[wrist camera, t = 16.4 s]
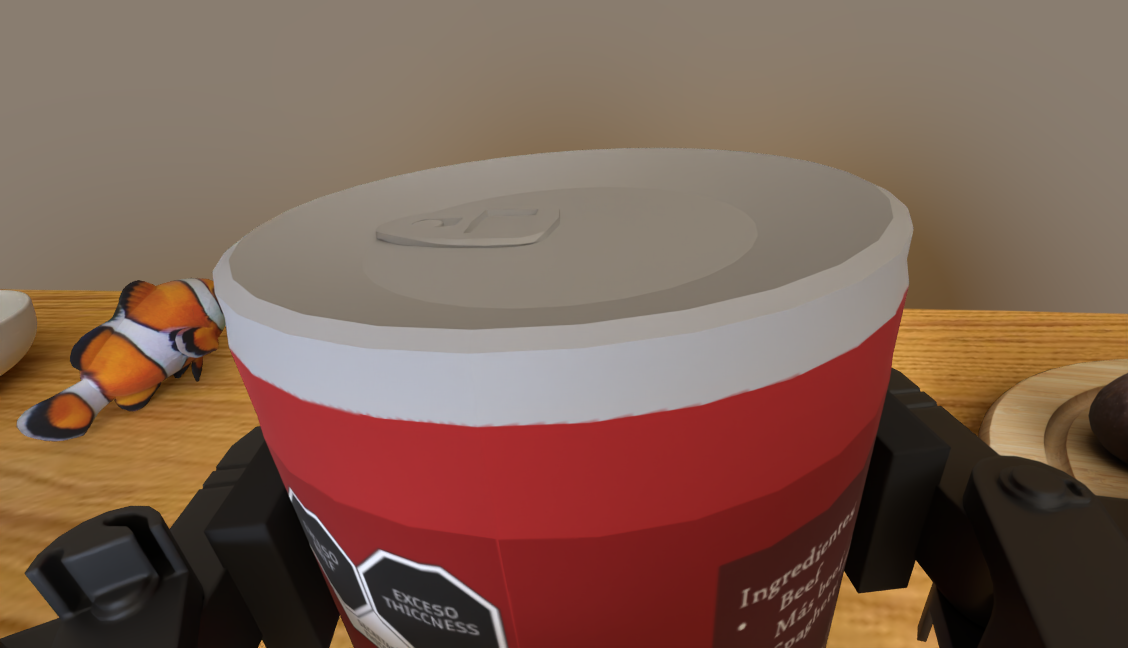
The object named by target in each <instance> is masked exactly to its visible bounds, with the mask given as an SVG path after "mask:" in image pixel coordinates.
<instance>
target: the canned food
mask: <svg viewBox="0 0 1128 648" xmlns="http://www.w3.org/2000/svg"><path fill="white" fill-rule="evenodd" d="M913 229H914V228H913V225H912V221H911V218H910V215H909V211H908V208H907V207H906V206H905V205H904V204H903V203H902V202H900V201H899V200H898V199H897V198H896V197H895V196H894V195H892V194H891V193H890V192H889V191H887V190H885V189H883V188H881V187H879V186H877V185H875V184H872V183H870V182H868V181H866V180H864V179H862V178H859V177H857V176H855V175H853V174H851V173H848V172H846V171H842V170H839V169H835V168H832V167H829V166H825V165H821V164H818V163H814V162H809V161H804V160H798V159H793V158H787V157H782V156H775V155H766V154H758V153H749V152H741V151H726V150H711V149H687V148H686V149H685V148H683V149H682V148H620V149H598V150H580V151H566V152H552V153H541V154H531V155H522V156H513V157H504V158H497V159H490V160H483V161H475V162H468V163H462V164H456V165H451V166H445V167H439V168H433V169H427V170H423V171H418V172H413V173H409V174H404V175H400V176H395V177H390V178H386V179H382V180H378V181H375V182H371V183H367V184H363V185H359V186H355V187H352V188H349V189H346V190H343V191H339V192H336V193H333V194H330V195H327V196H324V197H320V198H318V199H315V200H313V201H310V202H308V203H305V204H303V205H300V206H298V207H295V208H293V209H290V210H288V211H286V212H284V213H282V214H280V215H278V216H276V217H274V218H273V219H271V220H269V221H267V222H265V223H263V224H261V225H259V226H258V227H257V228H255V229H254V230H252V231H251V232H249V233H248V234H247V235H245V236H244V237H243V238H242V239H240V240H239V241H238V242H236V243H235V244H234V245H233V246H231V247H230V248H229V249H228V250H227V251H225V252H224V254H223V256H222V257H221V259H220V260H219V262H218V264H217V265H216V267H215V269H214V270H213V281H214V289H215V295H216V297H217V299H218V302H219V304H220V307H221V309H222V312H223V314H224V317H225V323H226V330H227V337H228V344H229V349H230V351H231V354H232V356H233V358H234V361H235V363H236V365H237V368H238V370H239V373H240V375H241V377H242V380H243V382H244V385H245V387H246V389H247V392H248V394H249V397H250V399H251V401H252V404H253V406H254V408H255V411H256V413H257V416H258V419H259V423H260V426H261V429H262V433H263V436H264V439H265V441H266V443H267V446H268V448H269V450H270V453H271V455H272V457H273V460H274V462H275V464H276V467H277V469H278V471H279V474H280V476H281V478H282V481H283V483H284V485H285V488H286V490H287V492H288V495H289V497H290V499H291V502H292V504H293V506H294V509H295V511H296V513H297V516H298V518H299V520H300V523H301V525H302V527H303V530H304V532H305V534H306V537H307V539H308V541H309V544H310V546H311V548H312V551H313V553H314V555H315V558H316V560H317V562H318V565H319V567H320V569H321V572H322V574H323V576H324V579H325V581H326V583H327V586H328V588H329V590H330V593H331V595H332V597H333V600H334V602H335V604H336V607H337V609H338V611H339V614H340V616H341V618H342V621H343V623H344V625H345V628H346V630H347V632H348V635H349V637H350V639H351V642H352V644H353V646H354V648H826V644H827V640H828V636H829V631H830V627H831V623H832V619H833V615H834V610H835V606H836V602H837V598H838V594H839V590H840V585H841V581H842V577H843V573H844V569H845V564H846V560H847V556H848V552H849V548H850V544H851V539H852V535H853V531H854V527H855V523H856V518H857V514H858V510H859V506H860V502H861V498H862V493H863V489H864V485H865V481H866V477H867V472H868V468H869V464H870V460H871V456H872V452H873V447H874V443H875V439H876V435H877V431H878V426H879V422H880V418H881V414H882V410H883V406H884V401H885V397H886V393H887V389H888V385H889V381H890V374H891V366H892V358H893V352H894V348H895V343H896V339H897V335H898V330H899V326H900V322H901V317H902V313H903V309H904V304H905V299H906V296H907V291H908V286H909V278H908V268H907V256H908V251H909V247H910V242H911V238H912V233H913Z"/></svg>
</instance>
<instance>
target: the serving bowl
mask: <svg viewBox="0 0 1128 648" xmlns="http://www.w3.org/2000/svg"><path fill="white" fill-rule="evenodd" d="M36 331H37V318H36V313H35V310H34V307H33V304H32V301H31V298H30V297H29V296H28V295H27V294H25V293H22V292H18V291H10V290H0V376H1V375H2V374H4V373H5V372H7V371H8V370H9V369H11V368H12V367H13V366H14V365H15V364H17V363H18V362H19V361H20V360H21V359H22V358H23V357H24V355H25V354H26V353H27V352H28V350H29V349H30V347H31V345H32V343H33V341H34V339H35V335H36Z"/></svg>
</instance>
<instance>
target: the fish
mask: <svg viewBox="0 0 1128 648" xmlns="http://www.w3.org/2000/svg"><path fill="white" fill-rule="evenodd" d="M225 325H226V323H225V317H224V314H223V312H222V309H221V307H220V304H219V302H218V299H217V297H216V295H215V289H214V281H211V280H209V279H197V278H189V279H180V280H174V281H170V282H167V283H163V284H160V285H158V286H155V285H153V284H150V283H147V282H144V281H140V280H138V281H134V282H132V283H130V284H128V285H127V286H126V287H125V288H124V289H123V291H122V293H121V295H120V298H119V303H118V306H117V308H116V310H115V313H114V315H113V317H112V318H111V319H110V320H109V321H107V322H105V323H104V324H102V325H100V326H98V327H96V328H95V329H93V330H91V331H90V332H88V333H86V334H85V335H84V336H82V337H81V338H80V340H79V341H78V342H77V343H76V344H75V345H74V346H73V349H72V351H71V355H70V362H71V364H72V366H73V367H74V368H76V369H78V370H79V371H80V379H81V381H80V382H78V383H76V384H75V385H73V386H71V387H69V388H67V389H65V390H64V391H62V392H60V393H58V394H57V395H55V396H53V397H51V398H49V399H47V400H44V401H42V402H40V403H38V404H36V405H34V406H32V407H31V408H29V409H28V410H26V411H25V412H24V413H23V414H22V415H21V416H20V417H19V419H18V420H17V428H18V429H19V430H20V431H21V433H23V434H24V435H25V436H28V437H31V438H35V439H39V440H44V441H64V440H68V439H72V438H77V437H80V436H83V435H84V434H85V433H86V432H87V430H88V429H89V427H90V426H91V424H92V422H93V420H94V419H95V417H96V416H97V414H98V413H99V412H100V411H101V410H102V409H103V408H104V407H105V406H106V405H107V404H109V403H110V402H111V401H112V400H113V399H114V398H115V402H116V404H117V405H118V406H119V407H120V408H122V409H125V410H127V411H136V410H139V409H141V408H143V407H144V406H145V405H146V404H147V403H148V402H149V400H150V399H151V397H152V396H153V395H154V393H155V392H156V391H157V389H158V388H159V387H160V385H161V382H162V381H163V380H165V379H166V378H168V377H169V376H171V375H174V377H175V378H177V379H179V378H180V377H181V375H182V374H183V373H184V372H185V371H186V370H187V368H188V367H189V365H190V364H191V362H192V373H193V375H194V378H195V380H196V381H197V382H198V381H199V378H200V376H201V371H202V365H203V356H204V355H206V354H209V353H211V352H213V351H216V350H217V349H218V348H219V342H218V337H219V336H220V334H221V333H222V331H223V329H224V327H225Z"/></svg>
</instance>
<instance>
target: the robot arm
mask: <svg viewBox="0 0 1128 648" xmlns="http://www.w3.org/2000/svg"><path fill="white" fill-rule="evenodd" d="M936 403H937V402H936V401H935V400H933V399H932V398H931V397H930V396H929V395H927V394H926V393H925V392H920V388H919V387H918V386H917V385H915V384H914V383H913V382H912V381H911V380H909V379H908V378H907V377H906V376H905V375H903V374H902V373H901V372H900V371H897V370H895V369H893V368H891V374H890V381H889V385H888V389H887V393H886V397H885V401H884V406H883V410H882V414H881V418H880V422H879V426H878V431H877V435H876V439H875V443H874V447H873V452H872V456H871V460H870V464H869V468H868V472H867V477H866V481H865V485H864V489H863V493H862V498H861V502H860V506H859V510H858V514H857V518H856V523H855V527H854V531H853V535H852V539H851V544H850V548H849V552H848V556H847V560H846V564H845V569H844V571H845V573H846V575H847V576H848V578H849V579H850V581H851V583H852V584H853V586H854V587H855V589H856V591H857V592H858V593H865V592H874V591H882V590H891V589H899V588H907V586H908V583H909V579H910V576H911V573H912V570H913V567H914V564H915V560H916V561H917V562H918V563H919V565H920V566H921V567H922V569H923V570H924V571H925V572H926V574H927V575H928V576H929V577H930V579H931V580H932V581H933V584H932V587H931V590H930V592H929V595H928V598H927V601H926V604H925V607H924V610H923V613H922V615H921V618H920V621H919V624H918V634H917V640H920V641H924V642H926V641H927V638H928V635H929V632H930V630H931V627H932V624H933V625H934V629H935V633H936V637H937V640H938V645H939V648H1128V499H1124V498H1116V497H1107V496H1099V495H1095V494H1094V493H1093V492H1092V491H1091V490H1090V489H1089V488H1088V487H1087V486H1086V485H1085V484H1083V483H1082V482H1080V481H1078V480H1077V479H1075V478H1074V477H1072V476H1070V475H1069V474H1067V473H1066V472H1064V471H1062V470H1059V469H1057V468H1054V467H1052V466H1050V465H1047V464H1045V463H1042V462H1040V461H1036V460H1031V459H1027V458H1023V457H1018V456H1002V455H999V454H998V453H997V452H996V451H994V450H993V449H992V448H991V447H990V446H988V445H987V444H986V443H985V442H984V441H982V440H981V439H980V438H979V437H978V436H976V435H975V434H974V433H973V432H972V431H970V430H969V429H968V428H967V427H966V426H964V425H963V424H962V423H961V422H960V421H958V420H957V419H956V418H955V417H954V416H953V415H951V414H950V413H949V412H948V411H947V410H945V409H944V408H943V407H942V406H937V404H936ZM25 575H26V576H27V577H28V579H29V580H30V581H31V582H32V584H33V585H34V586H35V587H36V589H37V590H38V591H39V592H40V594H41V595H42V596H43V597H44V599H45V600H46V601H47V602H48V604H49V605H50V606H51V607H52V609H53V610H54V611H55V612H56V614H57V615H58V616H59V618H57V619H55V620H52V621H49V622H46V623H43V624H40V625H38V626H35V627H32V628H29V629H26V630H24V631H21V632H18V633H15V634H12V635H9V636H7V637H4V638H1V639H0V648H258V646H259V644H260V642H261V640H263V642H264V644H265V646H266V648H329V647H330V644H331V641H332V638H333V634H334V631H335V628H336V625H337V622H338V619H339V616H340V614H339V611H338V609H337V607H336V604H335V602H334V600H333V597H332V595H331V593H330V590H329V588H328V586H327V583H326V581H325V579H324V576H323V574H322V572H321V569H320V567H319V565H318V562H317V560H316V558H315V555H314V553H313V551H312V548H311V546H310V544H309V541H308V539H307V537H306V534H305V532H304V530H303V527H302V525H301V523H300V520H299V518H298V516H297V513H296V511H295V509H294V506H293V504H292V502H291V499H290V497H289V495H288V492H287V490H286V488H285V485H284V483H283V481H282V478H281V476H280V474H279V471H278V469H277V467H276V464H275V462H274V460H273V457H272V455H271V453H270V450H269V448H268V446H267V443H266V441H265V439H264V436H263V433H262V429H261V426H259V427H255V428H254V429H253V430H252V431H250V432H249V433H248V434H246V435H245V436H244V437H243V438H241V439H240V440H239V441H237V442H236V443H235V444H234V445H232V446H231V448H230V449H229V450H228V452H227V453H226V454H225V456H224V457H223V458H222V460H221V461H220V462H219V464H218V465H217V466H216V471H213V472H212V473H211V474H210V476H209V477H208V478H207V480H206V481H205V483H204V484H203V489H199V491H198V492H197V493H196V495H195V496H194V497H193V499H192V500H191V501H190V503H189V504H188V505H187V507H186V508H185V509H184V511H183V512H182V513H181V515H180V516H179V517H178V519H177V520H176V521H175V523H174V524H173V525H172V527H171V528H170V529H169V528H168V526H167V524H166V523H165V521H164V519H163V518H162V516H161V514H160V513H159V512H158V511H156V510H154V509H153V508H151V507H149V506H128V507H124V508H120V509H116V510H112V511H108V512H106V513H103V514H101V515H99V516H96V517H94V518H92V519H89V520H87V521H85V522H82V523H81V524H79V525H78V526H76V527H74V528H73V529H71V530H69V531H68V532H66V533H65V534H63V535H61V536H60V537H58V538H57V539H56V540H55V541H53V542H52V543H51V544H50V545H49V546H48V547H46V548H45V549H44V550H43V551H42V552H41V553H40V554H38V555H37V557H36V558H35V559H34V561H33V562H32V563H31V565H30V566H29V568H28V569H27V570H26V572H25Z"/></svg>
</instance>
